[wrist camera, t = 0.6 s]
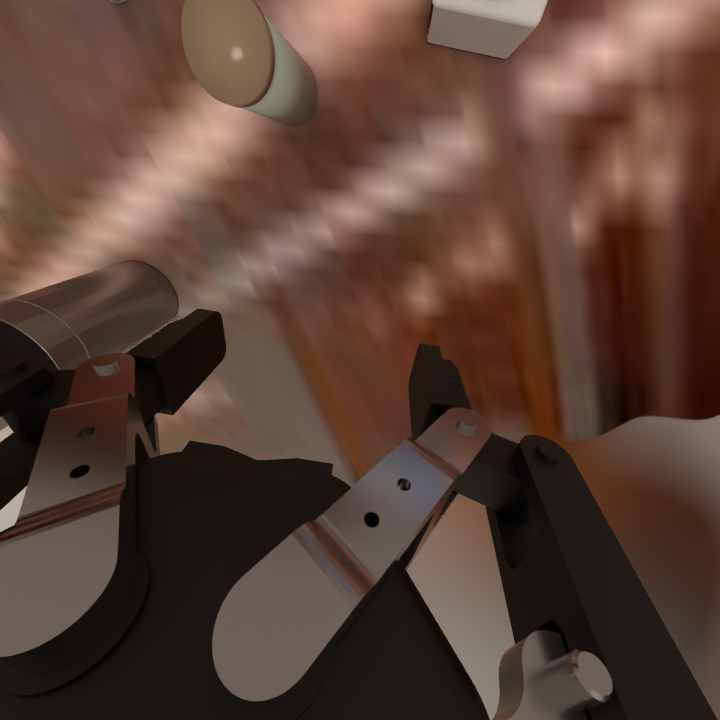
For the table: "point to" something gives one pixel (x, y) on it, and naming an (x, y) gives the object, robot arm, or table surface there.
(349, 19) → the table surface
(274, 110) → the pale green capped jar
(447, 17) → the medicine bottle
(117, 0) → the white rectangular frame
